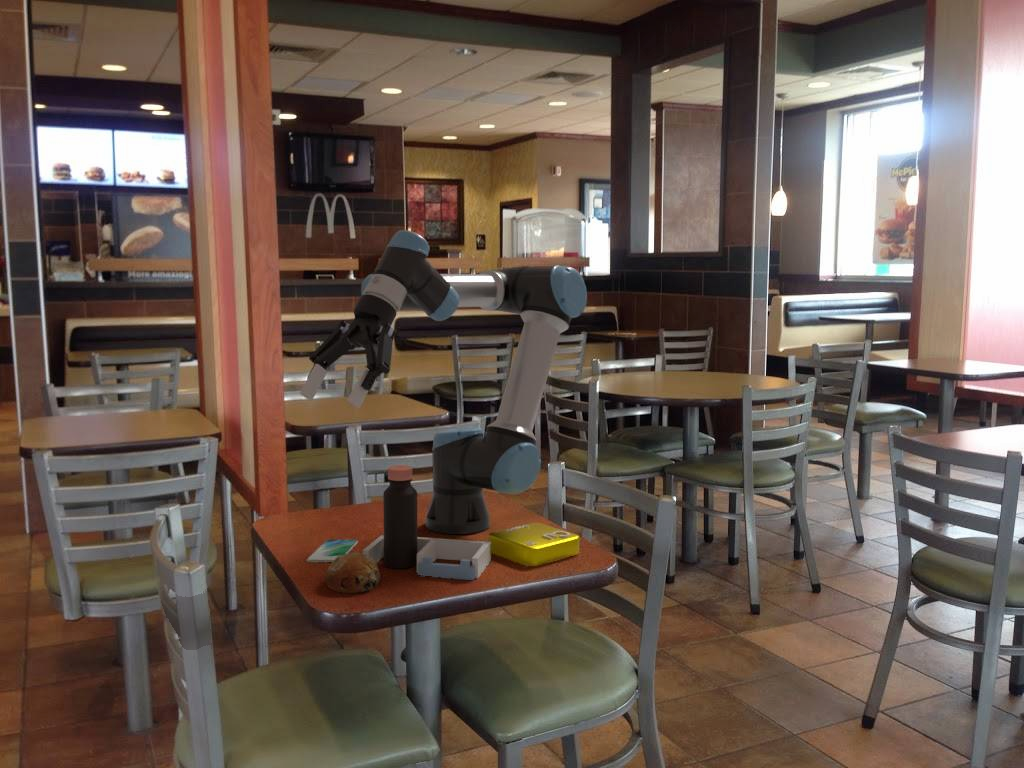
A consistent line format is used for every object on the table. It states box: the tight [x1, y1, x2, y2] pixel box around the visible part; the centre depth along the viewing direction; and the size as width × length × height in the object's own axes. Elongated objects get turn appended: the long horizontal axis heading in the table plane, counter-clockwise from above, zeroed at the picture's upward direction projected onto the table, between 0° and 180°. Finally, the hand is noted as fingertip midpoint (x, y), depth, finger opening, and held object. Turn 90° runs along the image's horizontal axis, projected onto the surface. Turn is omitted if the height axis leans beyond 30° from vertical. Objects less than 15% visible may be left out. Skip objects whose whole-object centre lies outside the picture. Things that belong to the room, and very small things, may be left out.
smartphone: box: [305, 538, 359, 563], centre depth 190 cm, size 7×1×15 cm
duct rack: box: [362, 534, 492, 581], centre depth 180 cm, size 12×24×4 cm, turn 78°
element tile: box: [487, 522, 580, 567], centre depth 190 cm, size 15×15×5 cm
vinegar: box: [383, 464, 418, 570], centre depth 181 cm, size 7×7×20 cm
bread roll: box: [325, 551, 381, 594], centre depth 169 cm, size 10×10×8 cm
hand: (328, 401), depth 161 cm, fingers open, 13 cm apart
